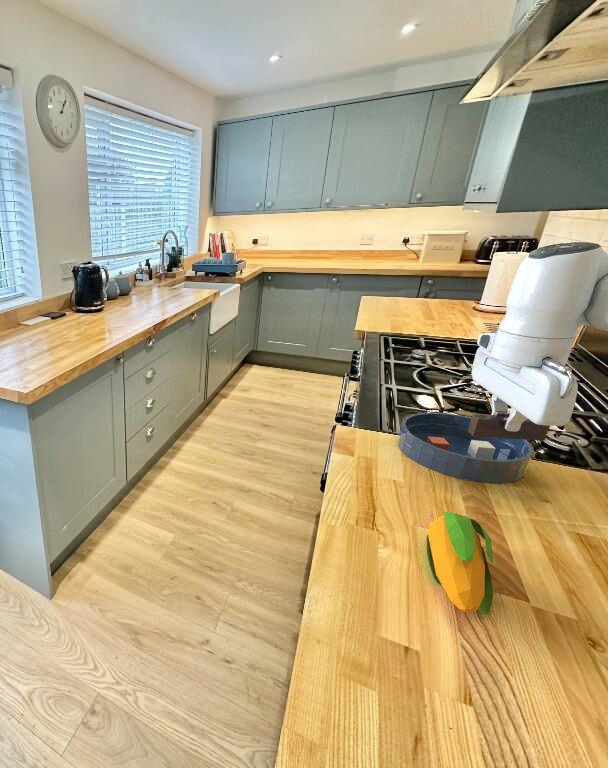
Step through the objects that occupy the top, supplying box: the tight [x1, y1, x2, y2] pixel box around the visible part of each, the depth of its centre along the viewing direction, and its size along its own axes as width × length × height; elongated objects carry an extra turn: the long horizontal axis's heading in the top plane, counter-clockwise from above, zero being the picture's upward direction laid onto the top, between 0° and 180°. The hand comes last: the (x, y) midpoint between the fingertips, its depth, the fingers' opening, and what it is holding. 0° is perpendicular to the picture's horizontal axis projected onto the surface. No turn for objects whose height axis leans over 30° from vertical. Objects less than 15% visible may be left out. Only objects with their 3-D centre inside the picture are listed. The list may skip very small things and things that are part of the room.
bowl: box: [396, 412, 535, 484], centre depth 90 cm, size 21×21×6 cm
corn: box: [426, 511, 494, 616], centre depth 60 cm, size 7×8×20 cm
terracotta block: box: [426, 436, 450, 451], centre depth 91 cm, size 3×3×3 cm
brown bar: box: [468, 413, 551, 442], centre depth 72 cm, size 10×2×4 cm, turn 74°
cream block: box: [468, 440, 496, 460], centre depth 89 cm, size 3×3×3 cm
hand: (503, 424), depth 72 cm, fingers closed on brown bar, 2 cm apart
